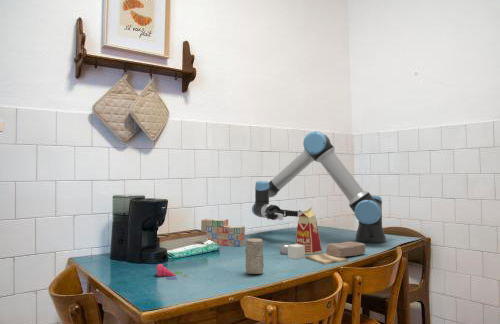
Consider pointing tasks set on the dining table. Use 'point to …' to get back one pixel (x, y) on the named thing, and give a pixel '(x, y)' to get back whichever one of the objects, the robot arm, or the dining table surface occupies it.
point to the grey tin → (284, 249)
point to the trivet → (326, 258)
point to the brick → (345, 249)
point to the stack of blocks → (223, 232)
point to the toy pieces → (167, 272)
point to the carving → (254, 256)
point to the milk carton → (308, 232)
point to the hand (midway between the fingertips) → (294, 216)
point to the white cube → (296, 251)
